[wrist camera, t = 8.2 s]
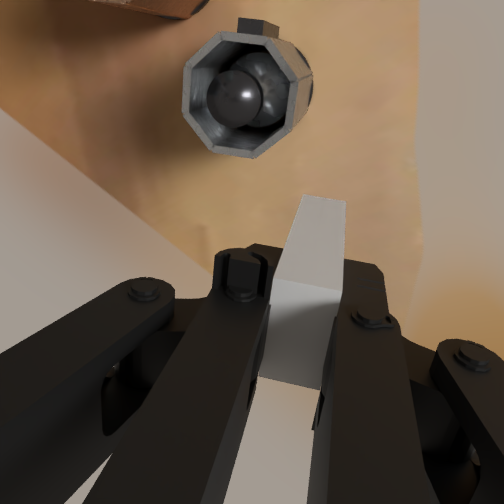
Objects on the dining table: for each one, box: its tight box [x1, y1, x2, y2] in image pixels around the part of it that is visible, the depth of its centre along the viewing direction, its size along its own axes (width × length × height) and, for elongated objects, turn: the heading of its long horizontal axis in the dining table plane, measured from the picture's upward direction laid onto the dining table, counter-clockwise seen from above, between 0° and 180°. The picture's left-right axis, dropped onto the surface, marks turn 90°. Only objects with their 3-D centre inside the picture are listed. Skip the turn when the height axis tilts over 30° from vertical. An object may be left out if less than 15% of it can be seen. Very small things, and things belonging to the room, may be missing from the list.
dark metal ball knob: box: [206, 52, 291, 128], centre depth 38 cm, size 7×7×11 cm
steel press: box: [182, 18, 313, 159], centre depth 40 cm, size 9×10×14 cm
